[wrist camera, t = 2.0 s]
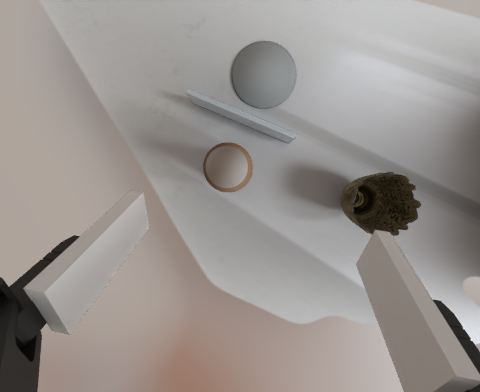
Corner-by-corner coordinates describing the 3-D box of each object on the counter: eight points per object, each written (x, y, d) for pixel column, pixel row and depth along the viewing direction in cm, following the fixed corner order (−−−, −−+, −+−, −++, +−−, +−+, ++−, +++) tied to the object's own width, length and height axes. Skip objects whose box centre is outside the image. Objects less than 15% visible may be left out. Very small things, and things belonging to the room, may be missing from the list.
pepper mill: (255, 160, 33) (261, 152, 21) (242, 192, 34) (241, 201, 22) (223, 147, 33) (212, 131, 21) (211, 179, 34) (192, 181, 22)
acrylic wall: (290, 139, 33) (296, 134, 29) (288, 143, 33) (294, 138, 29) (194, 98, 33) (187, 88, 29) (193, 103, 33) (185, 92, 29)
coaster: (306, 57, 32) (306, 56, 31) (280, 118, 33) (280, 117, 32) (247, 32, 32) (247, 30, 31) (222, 93, 32) (222, 93, 32)
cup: (322, 181, 33) (346, 183, 25) (371, 166, 33) (412, 163, 25) (335, 229, 34) (363, 245, 26) (383, 215, 34) (427, 227, 26)
